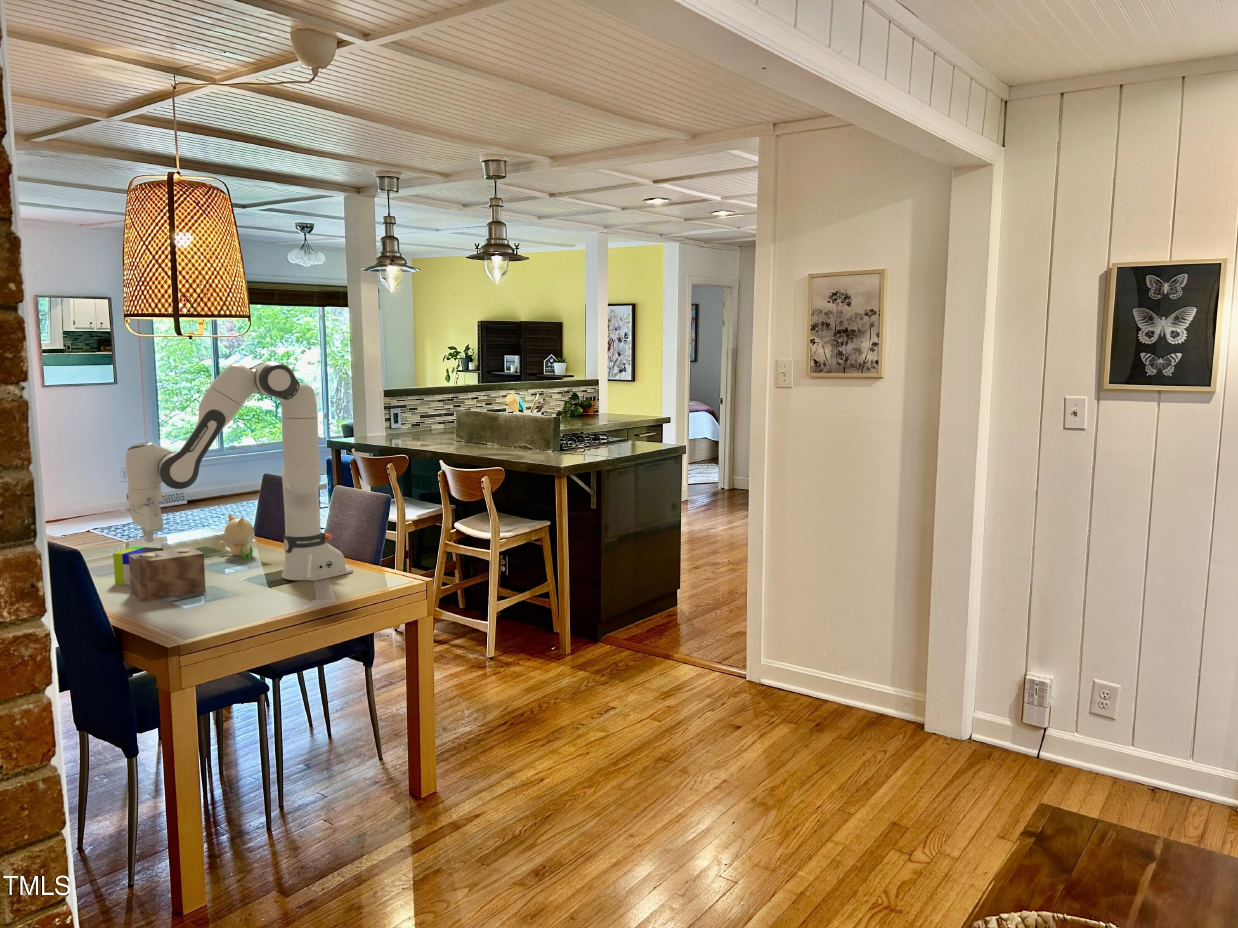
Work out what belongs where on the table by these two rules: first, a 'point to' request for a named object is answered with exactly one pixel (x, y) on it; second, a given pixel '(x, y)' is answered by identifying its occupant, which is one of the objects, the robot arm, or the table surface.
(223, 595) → the table surface
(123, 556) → the puzzle toy
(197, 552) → the walnut block
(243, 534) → the kitten
